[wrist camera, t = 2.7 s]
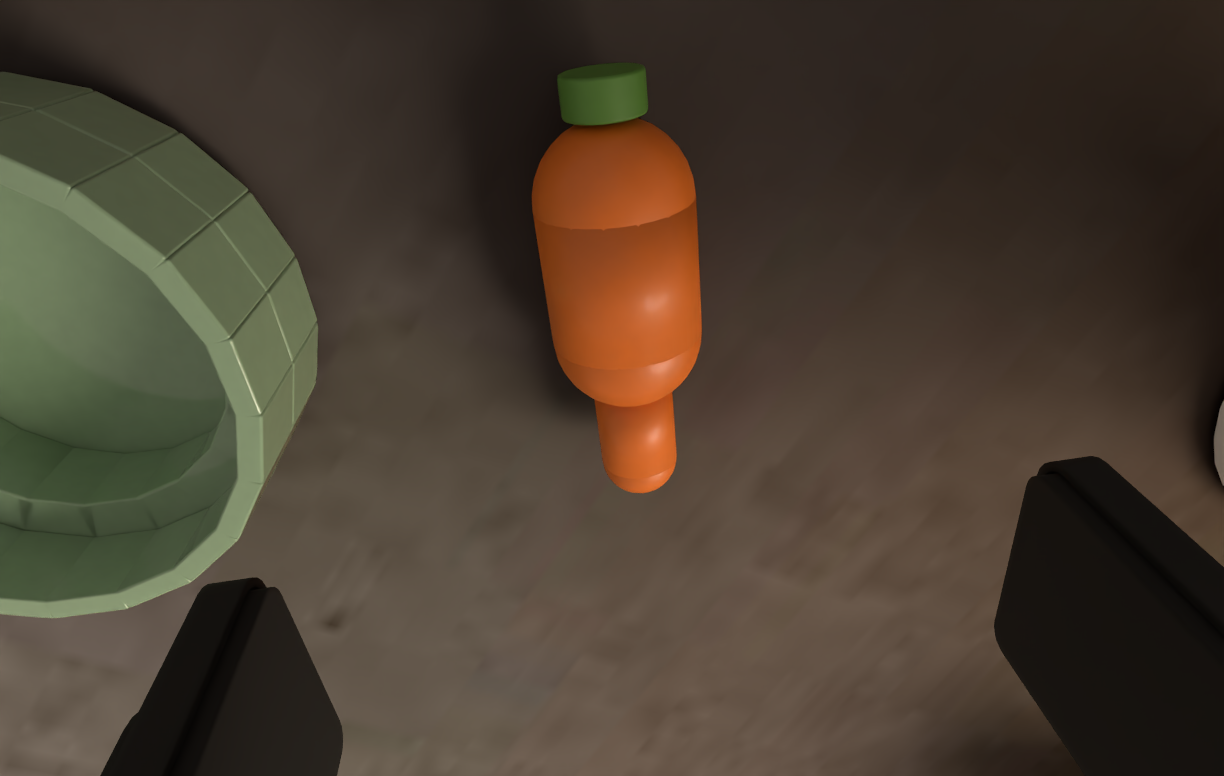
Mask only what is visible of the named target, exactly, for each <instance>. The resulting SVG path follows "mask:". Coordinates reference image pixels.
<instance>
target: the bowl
mask: <svg viewBox="0 0 1224 776" xmlns="http://www.w3.org/2000/svg"><path fill="white" fill-rule="evenodd" d="M294 256H295V255H294V253H293V251H292V250H291V248H290V247H289V245H288V244H287V243H286V241H285V240H284V238H283V237H282V236H281V234H280V233H279V231H278V230H277V229H276V227H275V226H274V224H273V223H272V221H271V220H270V219H269V217H268V216H267V214H266V213H265V212H264V210H263V209H262V207H261V206H260V204H259V203H258V202H257V200H256V199H255V197H254V196H253V195H252V193H251V192H248V188H247V187H246V186H244V185H243V184H242V183H241V182H240V181H238V180H237V179H236V178H235V177H234V176H232V175H231V174H230V173H229V172H228V171H226V170H225V169H224V168H223V167H222V166H221V165H219V164H218V163H217V162H216V161H215V160H213V159H212V158H211V157H210V156H209V155H207V154H206V153H205V152H204V151H203V150H201V149H200V148H199V147H198V146H197V145H196V144H194V143H193V142H192V141H191V140H190V139H188V138H187V137H186V136H185V135H184V134H182V133H178V131H177V130H175V129H173V128H171V127H169V126H167V125H165V124H163V123H161V122H159V121H157V120H155V119H152V118H150V117H148V116H146V115H144V114H142V113H140V112H138V111H136V110H134V109H132V108H130V107H128V106H126V105H124V104H122V103H120V102H118V101H116V100H113V99H111V98H109V97H107V96H105V95H103V94H101V93H99V92H97V91H93V90H92V89H90V88H85V87H80V86H75V85H70V84H65V83H60V82H55V81H49V80H44V79H39V78H34V77H29V76H24V75H19V74H14V73H8V72H0V614H3V615H15V616H27V617H40V618H62V617H69V616H77V615H85V614H92V613H100V612H108V611H115V610H123V609H128V608H129V607H133V606H136V605H138V604H140V603H143V602H145V601H148V600H150V599H152V598H155V597H157V596H160V595H162V594H164V593H167V592H169V591H172V590H174V589H176V588H179V587H181V586H184V585H186V584H188V583H190V582H191V581H194V580H195V579H196V578H197V577H198V576H199V575H201V574H202V573H203V572H204V571H205V570H206V569H207V568H208V567H209V566H210V565H212V564H213V563H214V562H215V561H216V560H217V559H218V558H219V557H220V556H222V555H223V554H224V553H225V552H226V551H227V550H228V549H229V548H230V547H231V546H233V545H234V544H235V543H236V542H237V541H238V539H239V538H240V537H241V535H242V533H243V531H244V529H245V527H246V525H247V523H248V521H249V519H250V517H251V515H252V513H253V511H254V509H255V507H256V506H257V504H258V502H259V500H260V498H261V496H262V494H263V492H264V490H265V488H266V486H267V484H268V482H269V480H270V478H271V476H272V474H273V472H274V470H275V468H276V467H277V465H278V463H279V461H280V459H281V457H282V455H283V453H284V451H285V449H286V447H287V445H288V443H289V441H290V439H291V437H292V435H293V433H294V431H295V429H296V427H297V425H298V423H299V421H300V418H301V416H302V414H303V412H304V409H305V407H306V405H307V403H308V400H309V398H310V396H311V394H312V392H313V389H314V387H315V385H316V380H317V349H318V324H317V323H316V322H317V318H316V315H315V312H314V309H313V306H312V303H311V300H310V297H309V294H308V291H307V288H306V285H305V282H304V279H303V276H302V273H301V270H300V267H299V264H298V261H297V259H296V258H295V257H294Z"/></svg>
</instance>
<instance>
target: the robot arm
mask: <svg viewBox="0 0 1224 776" xmlns="http://www.w3.org/2000/svg"><path fill="white" fill-rule="evenodd" d="M1214 458H1215V465H1216V468H1217V471H1218V474H1219V477H1220V479H1221V482H1222V484H1223V486H1224V400H1223V402H1222V405H1221V407H1220V410H1219V415H1218V420H1217V425H1216V429H1215V434H1214ZM994 629H995V636H996V640H997V642H998V645H999V647H1000V649H1001V651H1002V653H1003V654H1004V656H1005V657H1006V659H1007V660H1008V662H1009V663H1010V665H1011V666H1012V668H1013V669H1014V671H1015V672H1016V674H1017V675H1018V677H1019V678H1020V680H1021V681H1022V683H1023V684H1024V686H1025V687H1026V689H1027V690H1028V692H1029V693H1030V695H1031V696H1032V697H1033V699H1034V700H1035V702H1036V703H1037V705H1038V706H1039V708H1040V709H1041V711H1042V712H1043V714H1044V715H1045V717H1046V718H1047V720H1048V721H1049V723H1050V724H1051V726H1052V727H1053V729H1054V730H1055V732H1056V733H1057V735H1058V736H1059V738H1060V739H1061V741H1062V742H1063V744H1064V745H1065V747H1066V748H1067V750H1068V751H1069V753H1070V754H1071V756H1072V757H1073V758H1074V760H1075V761H1076V763H1077V764H1078V766H1079V767H1080V769H1081V770H1082V772H1083V773H1084V775H1085V776H1224V567H1223V566H1222V565H1220V564H1219V563H1218V562H1217V561H1216V560H1215V559H1214V558H1213V557H1212V556H1210V555H1209V554H1208V553H1207V552H1206V551H1205V550H1204V549H1203V548H1201V547H1200V546H1199V545H1198V544H1197V543H1196V542H1195V541H1194V540H1193V539H1191V538H1190V537H1189V536H1188V535H1187V534H1186V533H1185V532H1184V531H1182V530H1181V529H1180V528H1179V527H1178V526H1177V525H1176V524H1175V523H1174V522H1172V521H1171V520H1170V519H1169V518H1168V517H1167V516H1166V515H1165V514H1163V513H1162V512H1161V511H1160V510H1159V509H1158V508H1157V507H1156V506H1155V505H1153V504H1152V503H1151V502H1150V501H1149V500H1148V499H1147V498H1146V497H1144V496H1143V495H1142V494H1141V493H1140V492H1139V491H1138V490H1137V489H1136V488H1134V487H1133V486H1132V485H1131V484H1130V483H1129V482H1128V481H1127V480H1125V479H1124V478H1123V477H1122V476H1121V475H1120V474H1119V473H1118V472H1116V471H1115V470H1114V469H1113V468H1112V467H1111V466H1110V465H1109V464H1108V463H1106V462H1105V461H1103V460H1102V459H1100V458H1098V457H1094V456H1088V457H1082V458H1075V459H1068V460H1061V461H1054V462H1049V463H1045V464H1044V465H1043V466H1042V467H1041V468H1040V469H1039V472H1038V474H1037V476H1034V477H1031V478H1030V479H1029V481H1028V483H1027V486H1026V490H1025V494H1024V498H1023V502H1022V507H1021V511H1020V515H1019V520H1018V524H1017V528H1016V532H1015V537H1014V541H1013V545H1012V549H1011V554H1010V558H1009V562H1008V567H1007V571H1006V575H1005V579H1004V584H1003V588H1002V592H1001V596H1000V601H999V605H998V609H997V614H996V618H995V624H994ZM342 748H343V732H342V726H341V723H340V720H339V718H338V716H337V714H336V712H335V709H334V707H333V705H332V703H331V701H330V699H329V696H328V694H327V692H326V690H325V688H324V686H323V683H322V681H321V679H320V677H319V675H318V673H317V670H316V668H315V666H314V664H313V662H312V660H311V657H310V655H309V653H308V651H307V649H306V647H305V644H304V642H303V640H302V638H301V636H300V634H299V631H298V629H297V627H296V625H295V623H294V621H293V618H292V616H291V614H290V612H289V610H288V608H287V606H286V603H285V601H284V599H283V597H282V595H281V593H280V591H279V590H278V589H277V588H275V587H269V588H266V586H265V584H264V583H263V581H262V580H260V579H259V578H247V579H240V580H233V581H226V582H219V583H212V584H207V585H206V586H204V587H203V588H202V589H201V590H200V592H199V593H198V595H197V597H196V599H195V601H194V603H193V605H192V607H191V609H190V611H189V613H188V615H187V617H186V619H185V621H184V623H183V625H182V627H181V629H180V631H179V633H178V635H177V637H176V639H175V641H174V643H173V645H172V647H171V649H170V651H169V653H168V655H167V657H166V659H165V661H164V663H163V665H162V667H161V669H160V670H159V672H158V674H157V676H156V678H155V680H154V682H153V684H152V686H151V688H150V690H149V692H148V694H147V696H146V698H145V700H144V702H143V704H142V706H141V708H140V710H139V712H138V713H137V714H136V715H134V716H133V717H132V718H131V720H130V722H129V723H128V725H127V726H126V728H125V729H124V731H123V732H122V734H121V736H120V738H119V740H118V742H117V744H116V746H115V748H114V750H113V752H112V754H111V756H110V758H109V760H108V762H107V764H106V766H105V768H104V770H103V772H102V774H101V776H337V772H338V768H339V764H340V759H341V754H342Z"/></svg>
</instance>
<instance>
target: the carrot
mask: <svg viewBox="0 0 1224 776" xmlns="http://www.w3.org/2000/svg"><path fill="white" fill-rule="evenodd" d="M557 84H558V92H559V100H560V107H561V115H562V119H563V121H564V122H566V123H569V124H574V125H573V126H572V127H570V128H569V129H567V130H566V131H564V132H563V133H562V134H561V135H560V136H559V137H558V138H557V139H556V140H555V141H554V142H553V143H552V144H551V145H550V146H549V148H548V149H547V151H546V152H545V154H544V156H543V157H542V159H541V161H540V164H539V166H538V169H537V172H536V175H535V178H534V182H533V189H532V211H533V217H534V224H535V230H536V237H537V243H538V249H539V256H540V262H541V268H542V275H543V281H544V287H545V294H546V300H547V306H548V313H549V319H550V325H551V332H552V338H553V344H554V348H555V351H556V355H557V359H558V362H559V363H560V365H561V367H562V369H563V371H564V373H565V374H566V375H567V377H568V378H569V379H570V380H571V382H572V383H573V384H574V385H575V386H576V387H577V388H578V389H580V390H581V391H582V392H584V393H585V394H586V395H588V396H589V397H591V398H593V399H595V407H596V415H597V422H598V430H599V437H600V445H601V453H602V460H603V464H604V468H605V471H606V473H607V475H608V476H609V478H610V479H611V480H612V481H613V482H614V483H615V484H616V485H617V486H618V487H620V488H622V489H624V490H626V491H629V492H633V493H646V492H650V491H653V490H655V489H657V488H659V487H661V486H662V485H663V484H664V483H665V482H666V481H667V480H668V479H669V478H670V476H671V474H672V473H673V471H674V468H675V464H676V440H675V425H674V411H673V396H672V392H673V391H674V390H675V389H676V388H677V387H678V386H679V385H680V384H681V383H682V382H683V381H684V380H685V379H686V377H687V376H688V374H689V373H690V371H691V369H692V367H693V366H694V364H695V362H696V359H697V356H698V352H699V349H700V345H701V335H702V322H701V298H700V275H699V252H698V229H697V205H696V192H695V185H694V179H693V175H692V173H691V170H690V167H689V164H688V161H687V159H686V158H685V156H684V154H683V153H682V151H681V150H680V148H679V146H678V145H677V144H676V143H675V142H674V141H673V140H672V139H671V138H670V137H669V136H668V135H667V134H666V133H665V132H663V131H662V130H660V129H659V128H657V127H656V126H655V125H653V124H651V123H649V122H646V121H644V120H641V119H639V118H638V117H640V116H642V115H644V114H646V113H647V110H648V97H647V83H646V70H645V67H644V66H643V65H641V64H637V63H607V64H597V65H590V66H584V67H579V68H574V69H570V70H567V71H564V72H562V73H561V74H559V75H558V77H557Z"/></svg>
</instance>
